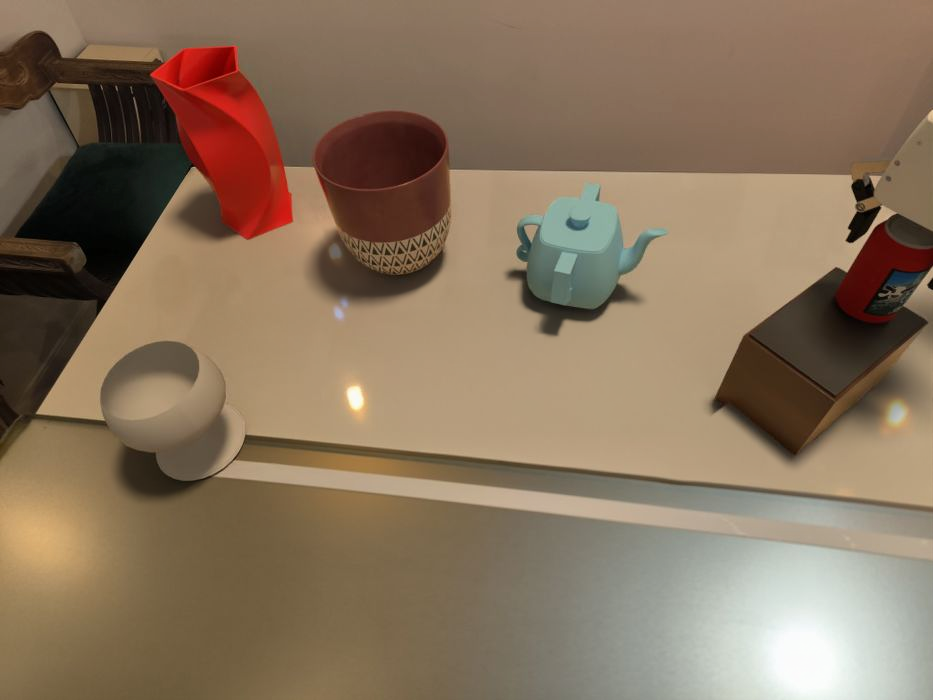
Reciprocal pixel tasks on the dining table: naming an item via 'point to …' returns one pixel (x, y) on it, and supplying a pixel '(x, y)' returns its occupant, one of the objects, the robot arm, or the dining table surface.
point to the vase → (228, 137)
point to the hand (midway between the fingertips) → (894, 258)
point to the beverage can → (886, 270)
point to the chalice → (173, 409)
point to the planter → (388, 188)
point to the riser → (812, 363)
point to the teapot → (579, 250)
